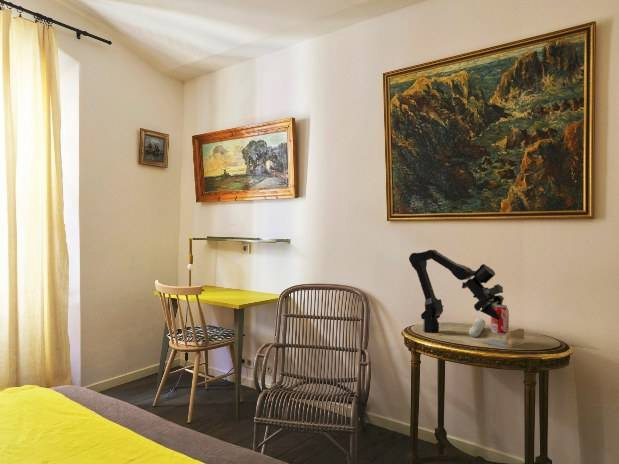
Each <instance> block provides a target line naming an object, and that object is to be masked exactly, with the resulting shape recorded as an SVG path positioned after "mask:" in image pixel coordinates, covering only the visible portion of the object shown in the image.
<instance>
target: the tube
mask: <svg viewBox="0 0 619 464" xmlns="http://www.w3.org/2000/svg"><path fill="white" fill-rule="evenodd" d="M485 327H486V320H484V319H483V318H480V317H479V318H476V319H475V320H474V321H473V324H472V325H471V327H470V328H469V330H468V335H469V336H470V337H472V338H479V336H481V333H482V331H483V330H484V328H485Z"/></svg>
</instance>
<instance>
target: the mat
mask: <svg viewBox="0 0 619 464" xmlns="http://www.w3.org/2000/svg"><path fill="white" fill-rule="evenodd" d="M482 344H484V345H490V346H494V347H500V348H507V347H506V340H499V339H495V338H491V339H488V340H485V341H482Z"/></svg>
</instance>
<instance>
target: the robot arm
mask: <svg viewBox="0 0 619 464" xmlns="http://www.w3.org/2000/svg"><path fill="white" fill-rule="evenodd" d="M408 259H409V261H408V262H410V265H411V267H412V268H413V270H415V271H416V274H417V277H418V281H419V283H420V287H421V289H422V293H423V295H424V299H425V301H424V309H425V310H424V311H423V312H422V313H421V314H420V318H421V320H423V329H422V330H423V333H435V334H436V333H437V334H438V333H439V330H440V326H439V325H440V322H439V321H438V320H439V319H440V317H441V315H442V314H443V312H444V305H443V304H442V300H441V299H438V298H437V297H436V295H435V293H434V292H435V291H434V289H433V286H432V283H431V279H430V277H429V276H430V275H429V273H428V270H427V265H428V261H429V260H433V261H434V262H435V263H438V264H439V265H440V266H442V267H444V268H445V269H447V270H448V271H449V272H451V274H452V275H453V276H454V277H455V278H456V279H457V280H459V281H463V282H462V285H461V289H468V290H469V291H470V292H471V293H472V294H473V298H474V299H477V301H476V302H475V304H473V305H474V306H473V308H474V310H475V311H476V312H479V311H480V313H483V314H485V315H488V316H489V317H490V318H491V317H493V318H495V319H497V320H499V319H500V317H499V316H498V314H497V313H496V311H495V310H494V308H493V305H495V304H498V305H503V302H504V301H505V297H504V296H503V295H500V294H501V293H504V287H503V286H502V285H500V284H498V283H497V284H495V285H493V287H490V288H489V287H485V286H484V284H487V283H488V282H490V280H491V279H493V277H494V276H496V273H495V271H494V269H492V268H491V267H489V265H488V266H487V265H486V264H485V263H483V264H481V265H480V267H478V268H477V270H473V269H472V268H470V267H468V266H466V265H463V264H459V263H457V262H455V261H453V260H451V259H450V258H448V257H447V256H446V255H445V256H444V255H443V254H441V253H440V252H439V251H437V250H436V249H429V250H426V251H422V252H412V253H410V255H409V257H408ZM465 280H466V281H465Z"/></svg>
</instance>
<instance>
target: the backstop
mask: <svg viewBox="0 0 619 464" xmlns="http://www.w3.org/2000/svg"><path fill="white" fill-rule="evenodd" d="M505 335H506V340H505V341H506V348H508V349H513V348H515V347H517V346H520V345H523V344H524V343H525V329H524V328H517V329H514V330H510V331H508V333H506V334H505Z"/></svg>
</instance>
